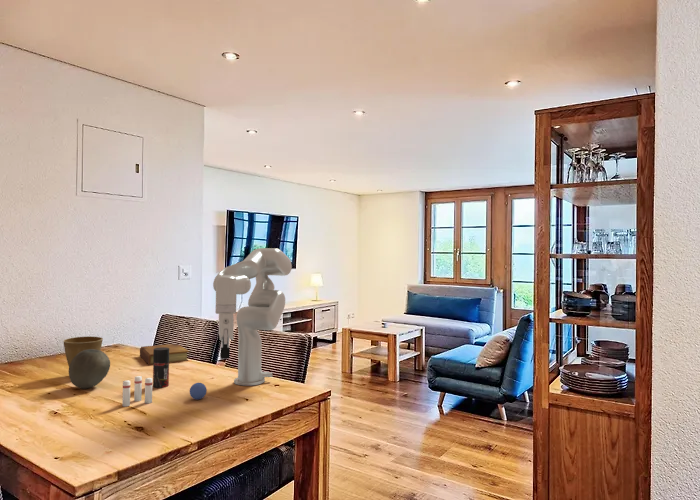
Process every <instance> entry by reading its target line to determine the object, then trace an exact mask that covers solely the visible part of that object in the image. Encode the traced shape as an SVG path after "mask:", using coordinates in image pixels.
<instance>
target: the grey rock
mask: <svg viewBox="0 0 700 500" xmlns="http://www.w3.org/2000/svg"><path fill="white" fill-rule="evenodd" d="M110 368H111V360H110V358H109V356H108V355H107V354H106V353H105V352H104V351H102V350H101V351H100V350H96V349H87V350H84V351H81V352H79V353H78V354H77V355H76V356H75V357H74V358H73V360H72V361H71V364H70V366H68V377H69V380H70V382H71V384H72V385H74V386H75V387H77V388H79V389H82V390H84V389H85V390H86V389H91V388H93V387H96V386H97V385H99V384H100V383H101V382H102V381H103V380H104V379H105V378H106V376H107V375H108V373H109V372H110Z"/></svg>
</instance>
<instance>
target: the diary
mask: <svg viewBox="0 0 700 500" xmlns="http://www.w3.org/2000/svg"><path fill="white" fill-rule="evenodd" d="M161 347H166V348H169V364H171V363H173V364H174V363H182V362H189V359H188V353H189V350H188V349H187V348H185V347H183V346H182V345H180V344H178V343H167V344H157V345H146V346H143V345H142V346H141V347H140V348H139V356H140V358H142V359H143V361H144V362H146V363H147V364H148V365H149V366H153V352H154V349H155V348H161Z"/></svg>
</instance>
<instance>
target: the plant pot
mask: <svg viewBox="0 0 700 500" xmlns="http://www.w3.org/2000/svg"><path fill="white" fill-rule="evenodd" d="M103 340H104V339H103V337H101V336H75V337H69V338H66V339H63V348H64V353H65V359H66V362H67V365H68V367H69V366H70V364H71V361H72V360H73V358H74V357H75V356H76V355H77V354H78V353H79V352H81V351H84V350H87V349H96V350H100V351H102V345H103Z"/></svg>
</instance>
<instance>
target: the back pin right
mask: <svg viewBox="0 0 700 500" xmlns="http://www.w3.org/2000/svg"><path fill="white" fill-rule="evenodd" d="M142 377H143V376H142V375H141V376H140V375H137V376H134V380H133V381H134V382H133V383H134V387H133V388H134V390H133V391H134V393H133V395H134V398H133V399H134V400H133V401H134V402H140V401H142V393H143V392H142V387H143V384H142V383H143V378H142Z"/></svg>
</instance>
